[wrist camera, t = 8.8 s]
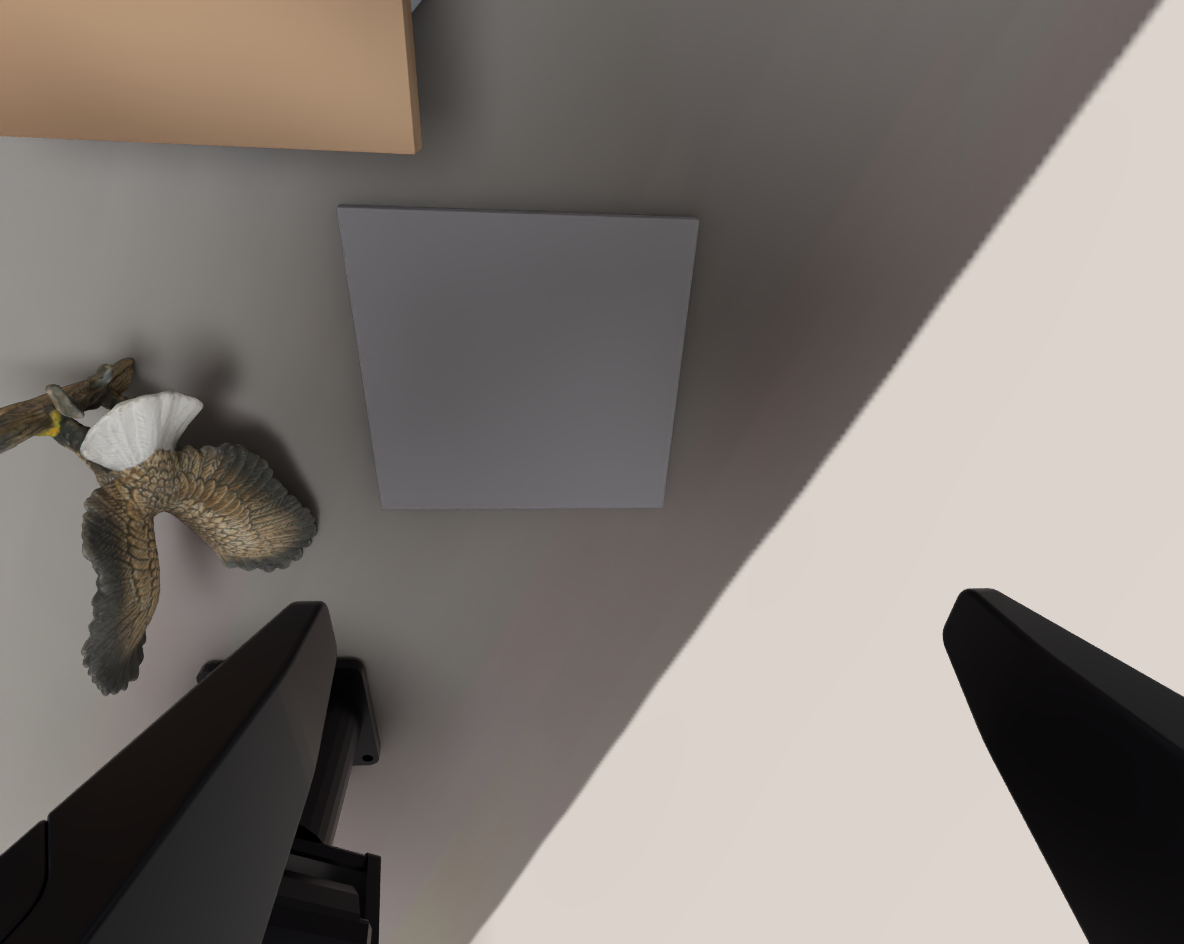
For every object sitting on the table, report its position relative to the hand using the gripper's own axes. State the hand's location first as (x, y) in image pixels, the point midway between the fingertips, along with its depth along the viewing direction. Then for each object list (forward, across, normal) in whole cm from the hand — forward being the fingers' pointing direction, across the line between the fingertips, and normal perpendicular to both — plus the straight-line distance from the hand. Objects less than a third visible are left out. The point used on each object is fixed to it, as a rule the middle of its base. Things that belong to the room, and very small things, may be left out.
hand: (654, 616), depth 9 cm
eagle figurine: (+13, +13, +6) cm, 20 cm away
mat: (+13, +2, +2) cm, 13 cm away
